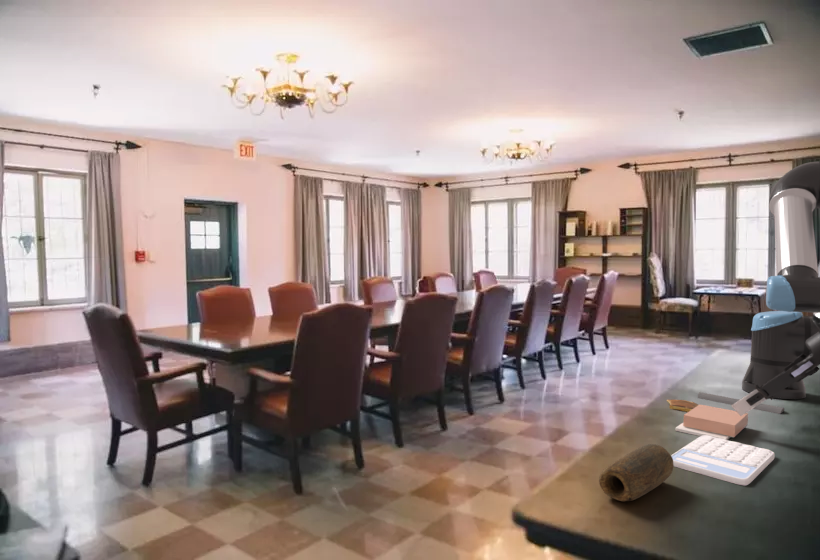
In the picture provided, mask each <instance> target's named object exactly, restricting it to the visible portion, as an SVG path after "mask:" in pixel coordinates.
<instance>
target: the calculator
mask: <svg viewBox="0 0 820 560" xmlns="http://www.w3.org/2000/svg"><path fill="white" fill-rule="evenodd" d="M670 455H671V457H672V458H673V468H674V467H675V468H678V469H682V470H684V471H685V470H686V471H689V472H693V473H695V474H699V475H703V476H706V477H711V478H714V479H717V480H720V481H724V482H728V483H732V484H736V485H739V486H744V487H745V486H749V484H751V483H752V482H753V481H754V480H755V479H756V478H757V477H758V476H759V475H760V474H761V472H763V471H764V470H765V469H766V468H767V467H768V465H770V464H771V463H772V462H773V461H774V459H775V458H776V457H775V456H776V455H775V452H774V451H772V450H770V449H768V448H763V447H762V448H761V447H757V446H755V445H750V444H745V443H741V442H738V441H731V440H729V439H728V440H725V439H721V438H715V437H712V436H708V435H703V436H698V437H697V438H695V439H694V440H693V441H691V442H689V443H687V444H686V445H684V446H683V447H682V448H680V449H679V450H677V451H676V452H673V454H670Z"/></svg>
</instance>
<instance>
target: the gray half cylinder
mask: <svg viewBox="0 0 820 560" xmlns="http://www.w3.org/2000/svg"><path fill="white" fill-rule="evenodd" d="M697 399H699V400H704V401H705V400H706V401H711V402H716V403H720V404H726V405H731V406H732V405H733V404H734V403H736V402H737V401H739V400H740V399H739V398H734V397H728V396H722V395H718V394H717V395H716V394H711V393H707V392H701V391H700V392H698V393H697ZM752 410H756V411H757V410H758V411H762V412H766V413H767V412H768V413H771V414H772V413H773V414H777V415H781V414H782V413H783V412H784V411H785V408H784V407H782V406H777V405H770V404H765V403H761V404H759V405H758V406H756V407H755V408H753V409H752Z"/></svg>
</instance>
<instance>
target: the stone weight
mask: <svg viewBox="0 0 820 560" xmlns="http://www.w3.org/2000/svg"><path fill="white" fill-rule="evenodd" d="M671 455H672V454H670V452H668V451H667V449H665V447H663V446H661V445H658V444H652V443H651V444H650V443H649V444H645V445H642V446H640V447H639V448H636V449H634V450H632V451H631V452H629V453H627V454H626V455H624V456H622V457H620V458H619V459H618V460H615V461H614V462H613V463H611V464H610V465H608V466H607V467H606V468H604V469H603V471H601V473H600V475H599V478H598V483H599V486H600V488H601V490H602V491H603V493H604V494H605V495H606V496H607V497H610V498H612V499H614V500H616V501H620V502H632V501H635V500H637V499H639V498H641V497H643V496H644V495H646V494H648V493H650V492H651V491H653V490H654V489H656V488H657V487H659V486H660V485H662V483H664V482H665V481H666V480H667V479H668V478H669V477H670V476H671V475H672V473H673V470H674V466H673V458H672V457H671Z"/></svg>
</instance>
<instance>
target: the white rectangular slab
mask: <svg viewBox="0 0 820 560" xmlns="http://www.w3.org/2000/svg"><path fill="white" fill-rule="evenodd" d="M674 429H675V430H674V431H676V432H680V433H684V434H689V435H692V436H698V437H700V436H703V435H708V436H712V437H715V438H721V439H725V440H728V441H729V439H730V438H731V437H729V436H724V435H719V434H715V433H710V432H705V431H701V430H696V429H692V428H687V427H685V426H683V422H682V423H680V424H679V425H677V426H676V427H675V428H674Z"/></svg>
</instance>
